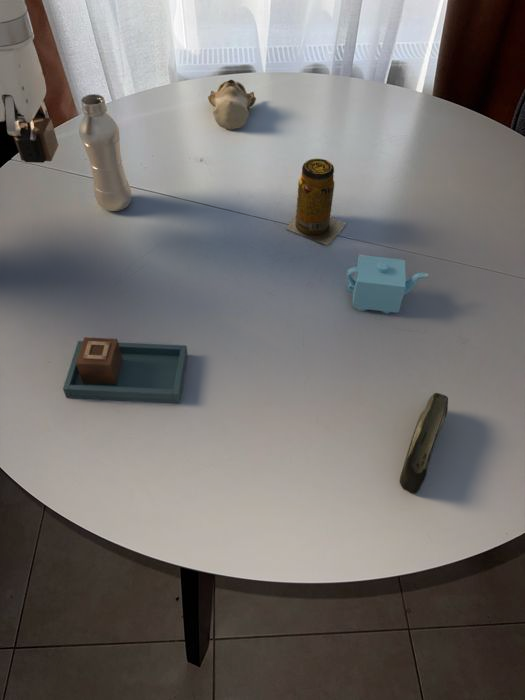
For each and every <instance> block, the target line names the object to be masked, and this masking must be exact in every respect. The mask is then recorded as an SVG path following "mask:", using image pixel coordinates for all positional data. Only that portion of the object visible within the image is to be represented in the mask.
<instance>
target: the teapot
mask: <svg viewBox="0 0 525 700" xmlns="http://www.w3.org/2000/svg"><path fill="white" fill-rule="evenodd" d="M351 274H354V277H352V275H351ZM346 277H347V280H348V282H349V284H348V285H347V290H348V291H349V292H352V303H351V307H352V308H355V309H358V310H359V311H362V312H365V311H368V310H371V311H378V312H379V311H380V312H382V313H383V314H386V315H388V314H391V313H397V314H398V313H399V312H400V308H401V306H402V303H403V302H402V301H403V298H404V296H405V295H406V294H408V293H409V292H410V291H412V289H413V288H414V287H415V285H416V284H417V282H418V281H419V280H420V279H423V278H426V277H429V274H428V273H426V272H417V273H415V274H414V275H412V276H411V277H410V278H409V279H407V280H406V278H407V277H406V259H401V258H400V259H399V258H391V257H382V256H375V255H374V256H373V255H364V254H358V257H357V263H356V266H354V267H350V268H349V269H348V270H347V272H346ZM353 278H354V279H353Z"/></svg>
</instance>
